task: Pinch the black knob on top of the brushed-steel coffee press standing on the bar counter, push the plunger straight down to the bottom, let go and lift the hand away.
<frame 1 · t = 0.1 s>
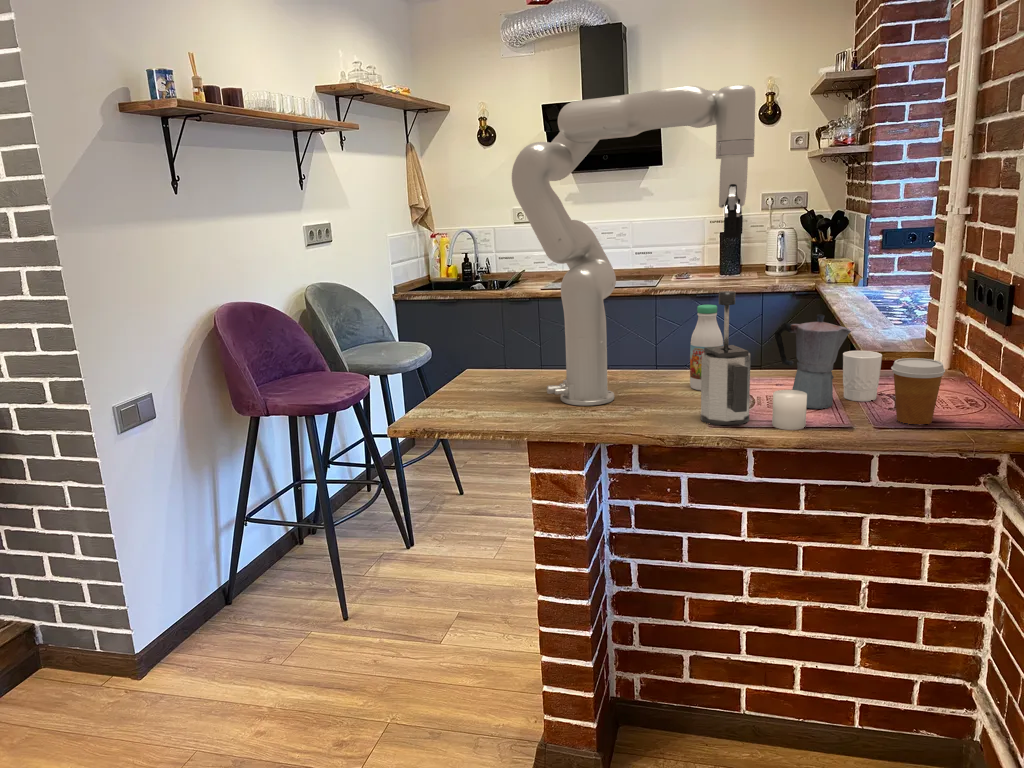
hand: (733, 236, 166), 37 cm above the countertop, tool pointing down, fingers open, 9 cm apart
moka pot: (809, 405, 175), on the countertop
disposable coffee cup: (913, 422, 160), on the countertop
milk bottle: (706, 388, 193), on the countertop
press carafe: (724, 419, 167), on the countertop
plunger: (726, 326, 162), point 20 cm above the countertop, slide at 0.0 cm
white pillar candle: (788, 425, 161), on the countertop
white cup: (859, 398, 178), on the countertop
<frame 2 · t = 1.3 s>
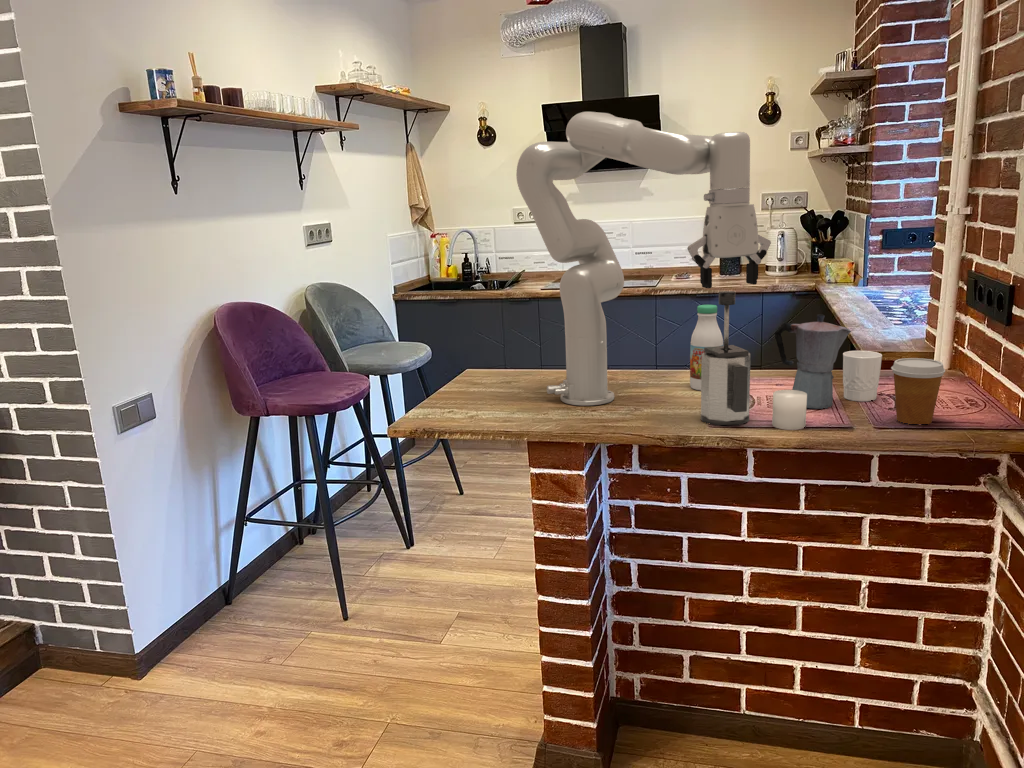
hand: (729, 285, 160), 28 cm above the countertop, tool pointing down, fingers open, 9 cm apart
nothing on the countertop moved.
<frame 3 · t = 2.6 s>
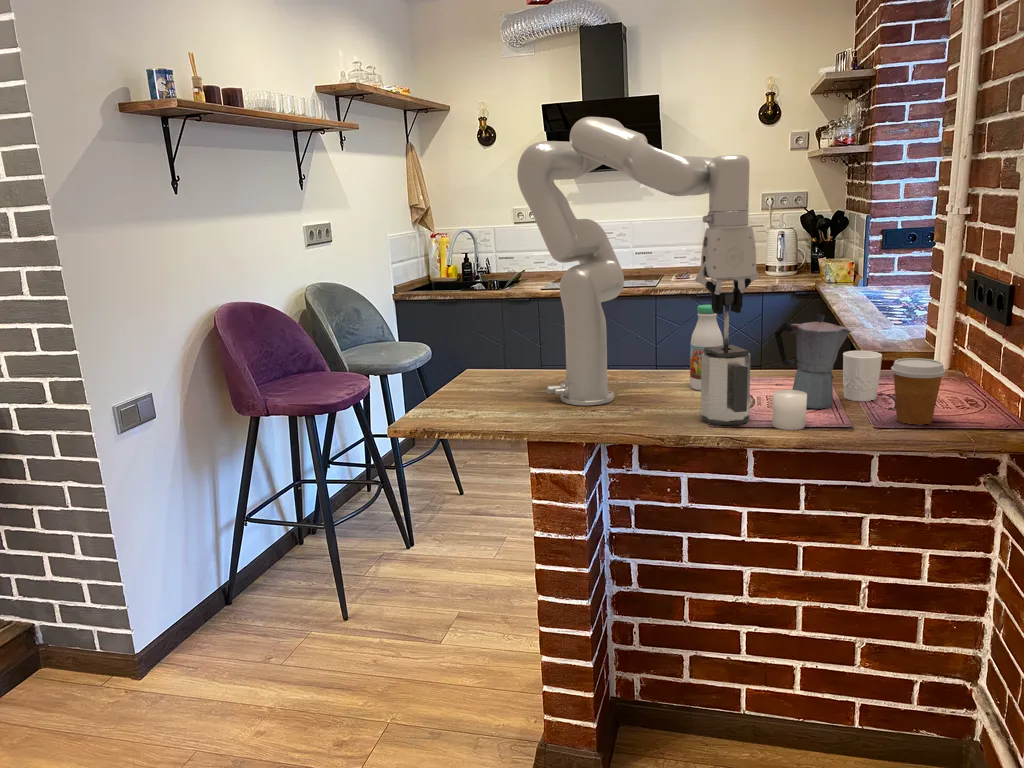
hand: (726, 311, 161), 23 cm above the countertop, tool pointing down, fingers closed on plunger, 3 cm apart
plunger: (726, 326, 162), point 20 cm above the countertop, slide at 0.0 cm, touching gripper
everything else where it was.
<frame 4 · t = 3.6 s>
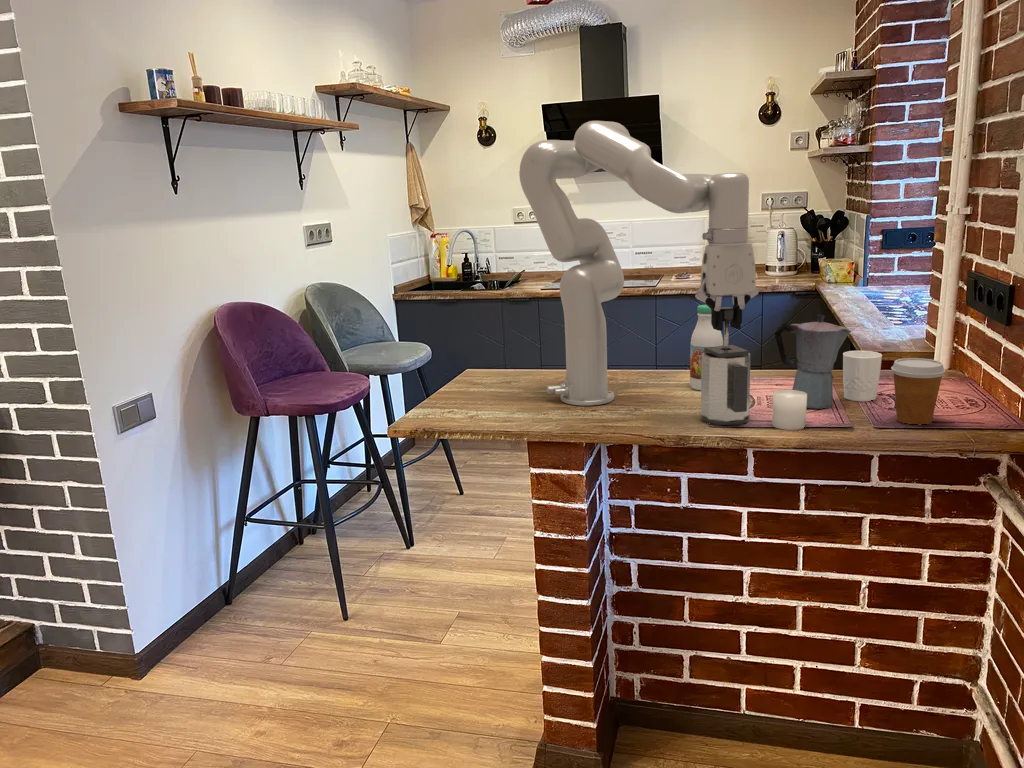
hand: (726, 327, 162), 19 cm above the countertop, tool pointing down, fingers closed on plunger, 3 cm apart
plunger: (726, 342, 163), point 16 cm above the countertop, slide at 3.3 cm, touching gripper
everything else where it was.
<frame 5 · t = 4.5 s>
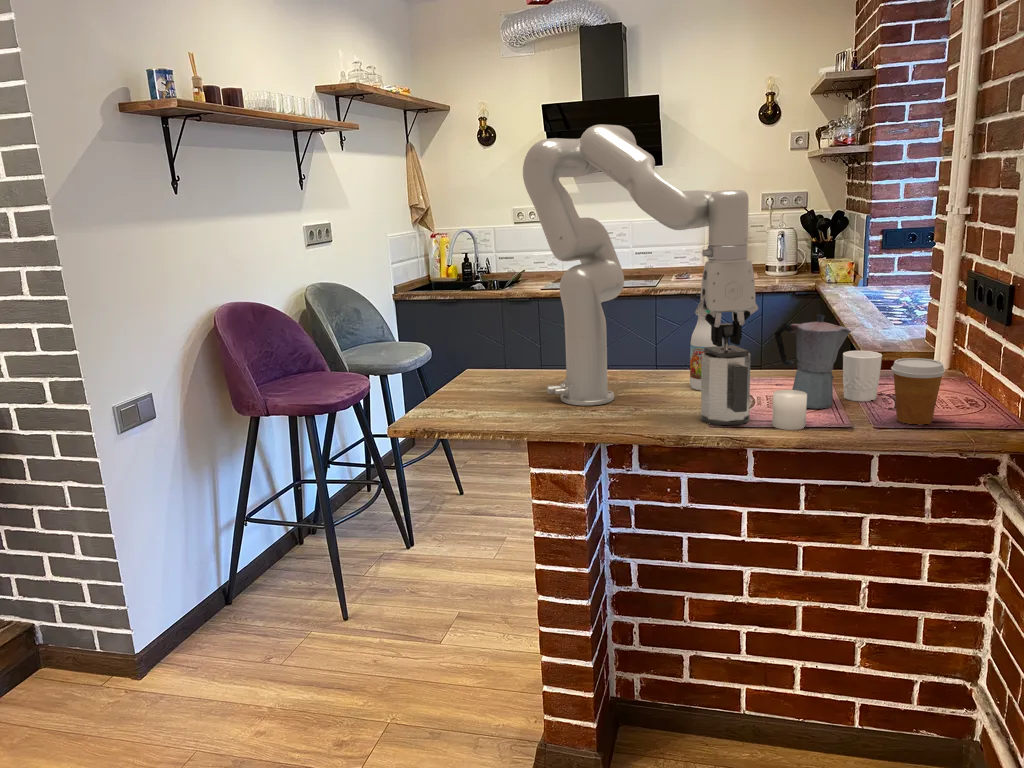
hand: (726, 343, 163), 16 cm above the countertop, tool pointing down, fingers closed on plunger, 3 cm apart
plunger: (725, 357, 164), point 13 cm above the countertop, slide at 6.6 cm, touching gripper
everything else where it was.
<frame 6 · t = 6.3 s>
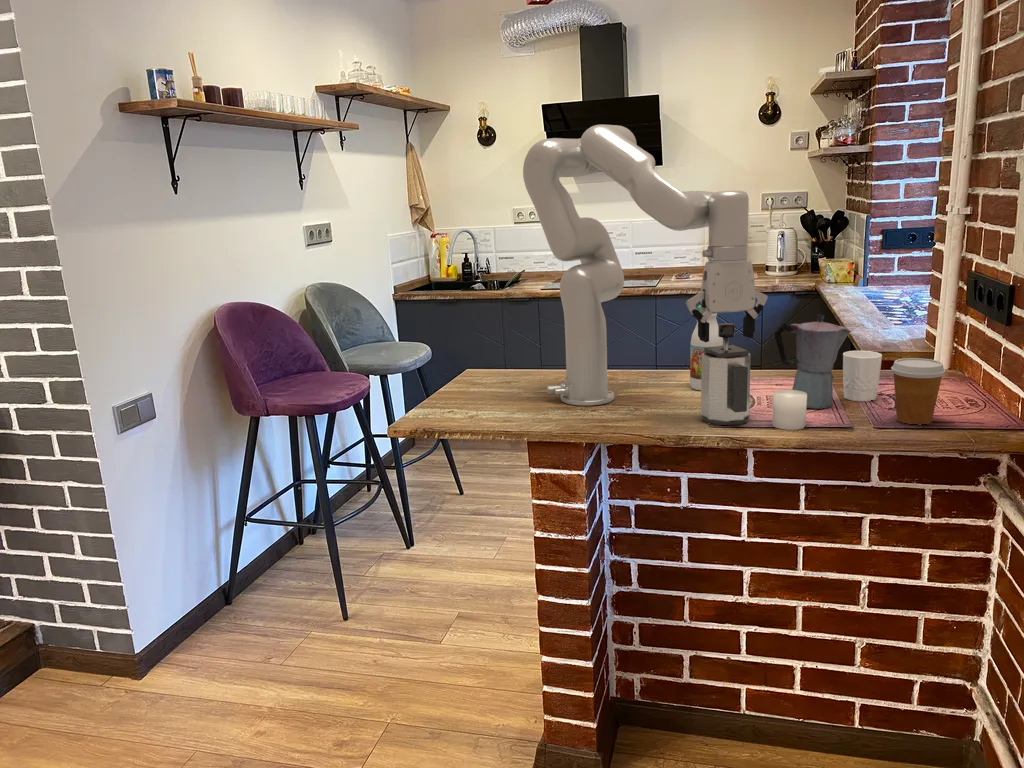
hand: (726, 339, 163), 17 cm above the countertop, tool pointing down, fingers open, 9 cm apart
plunger: (725, 357, 164), point 13 cm above the countertop, slide at 6.6 cm
everything else where it was.
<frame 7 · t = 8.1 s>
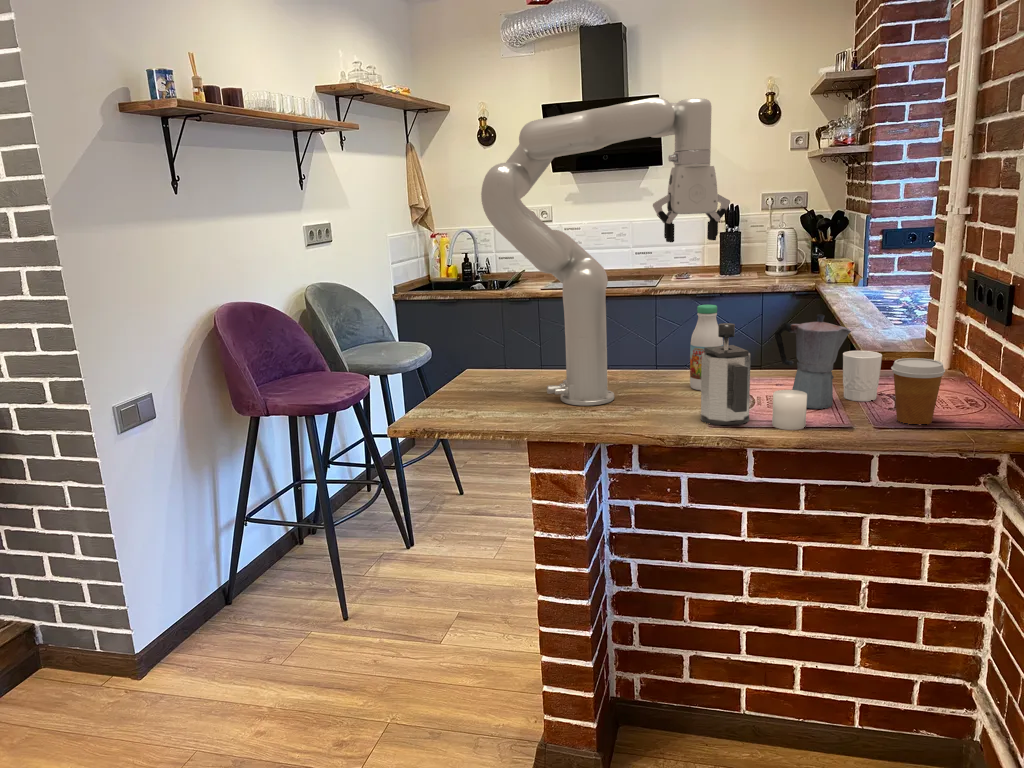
hand: (690, 240, 175), 36 cm above the countertop, tool pointing down, fingers open, 9 cm apart
nothing on the countertop moved.
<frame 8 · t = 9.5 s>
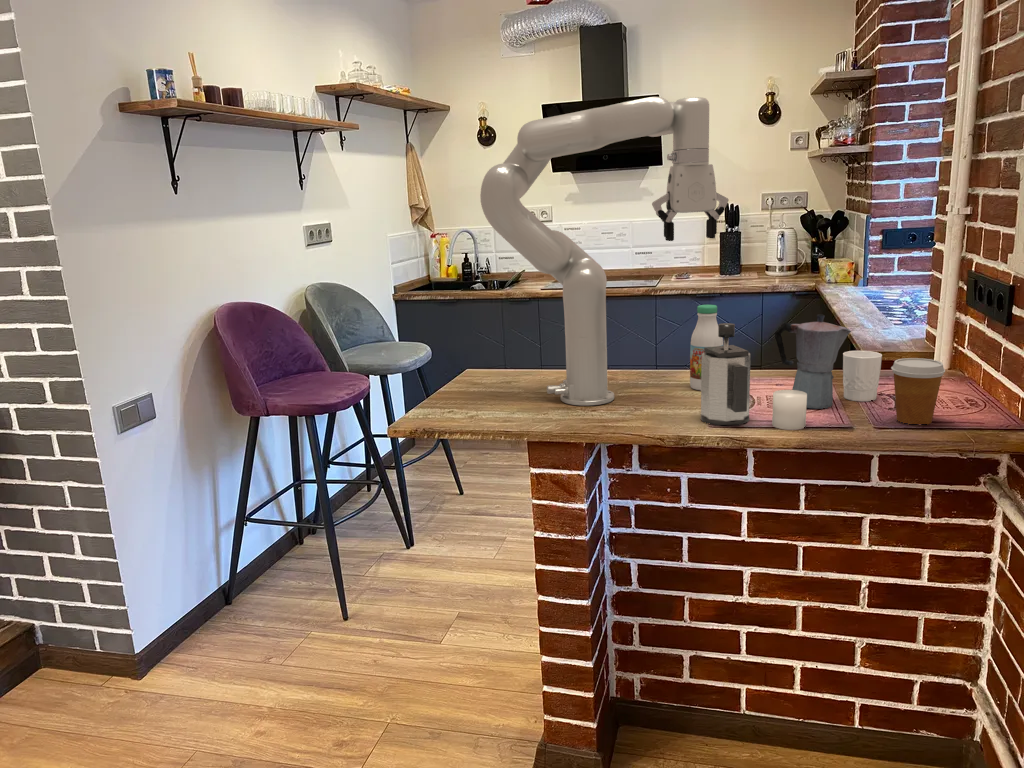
hand: (690, 239, 175), 36 cm above the countertop, tool pointing down, fingers open, 9 cm apart
nothing on the countertop moved.
at the end: plunger slide at 6.6 cm; the gripper is holding nothing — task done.
